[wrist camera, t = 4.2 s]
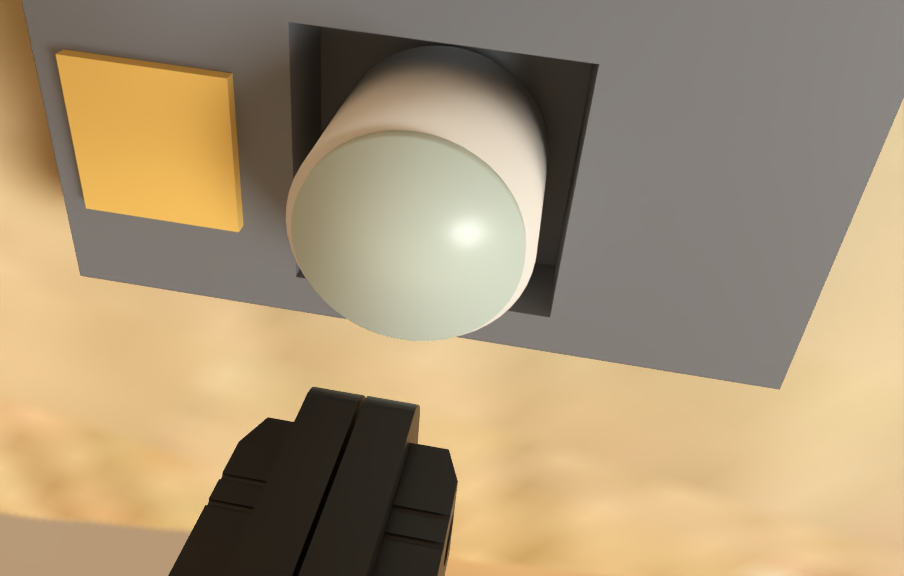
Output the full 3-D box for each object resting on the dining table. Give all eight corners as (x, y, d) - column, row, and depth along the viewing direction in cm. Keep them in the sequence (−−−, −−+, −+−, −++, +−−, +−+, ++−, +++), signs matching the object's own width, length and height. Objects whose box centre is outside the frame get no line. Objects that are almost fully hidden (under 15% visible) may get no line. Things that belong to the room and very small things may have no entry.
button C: (565, 62, 17) (555, 147, 14) (532, 255, 20) (517, 366, 16) (340, 31, 17) (276, 107, 14) (338, 225, 20) (284, 328, 17)
